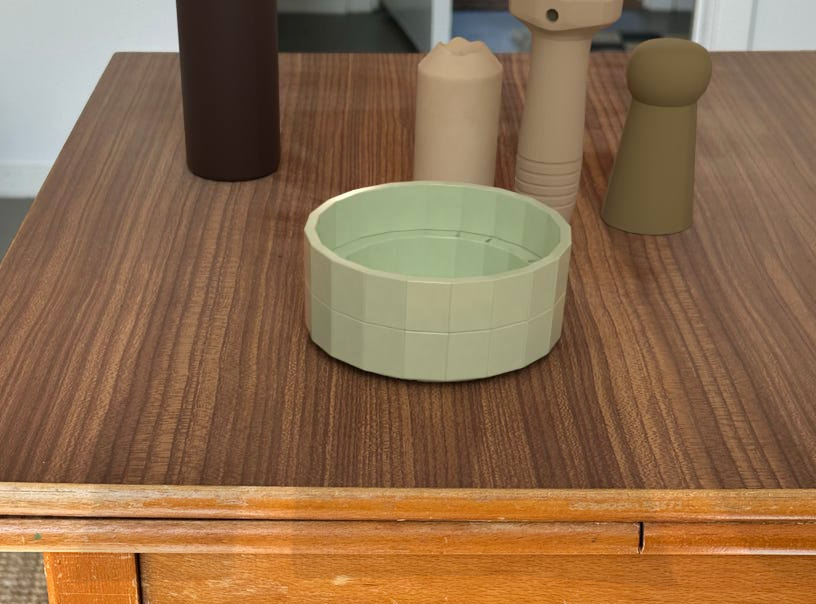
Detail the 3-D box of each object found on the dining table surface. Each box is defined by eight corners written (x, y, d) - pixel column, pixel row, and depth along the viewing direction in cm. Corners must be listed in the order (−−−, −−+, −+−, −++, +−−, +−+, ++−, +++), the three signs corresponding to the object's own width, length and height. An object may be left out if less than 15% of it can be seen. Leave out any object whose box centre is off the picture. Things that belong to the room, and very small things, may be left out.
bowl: (558, 286, 79) (569, 186, 76) (560, 399, 68) (573, 289, 65) (323, 273, 81) (323, 175, 77) (288, 382, 70) (286, 273, 66)
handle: (505, 225, 87) (526, -25, 77) (600, 242, 85) (633, -13, 75) (479, 251, 83) (498, -7, 74) (577, 269, 81) (609, 6, 72)
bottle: (177, 156, 97) (154, -160, 85) (266, 146, 99) (257, -164, 86) (199, 187, 92) (178, -143, 79) (292, 177, 94) (286, -148, 81)
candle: (415, 212, 88) (422, 54, 82) (409, 183, 93) (415, 31, 87) (497, 211, 89) (510, 54, 82) (487, 182, 93) (499, 30, 87)
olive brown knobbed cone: (583, 207, 89) (605, 34, 82) (660, 196, 91) (688, 25, 84) (630, 240, 85) (657, 59, 78) (710, 227, 87) (743, 49, 80)
